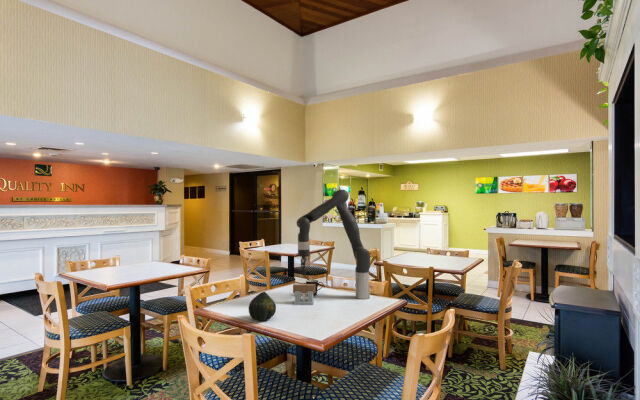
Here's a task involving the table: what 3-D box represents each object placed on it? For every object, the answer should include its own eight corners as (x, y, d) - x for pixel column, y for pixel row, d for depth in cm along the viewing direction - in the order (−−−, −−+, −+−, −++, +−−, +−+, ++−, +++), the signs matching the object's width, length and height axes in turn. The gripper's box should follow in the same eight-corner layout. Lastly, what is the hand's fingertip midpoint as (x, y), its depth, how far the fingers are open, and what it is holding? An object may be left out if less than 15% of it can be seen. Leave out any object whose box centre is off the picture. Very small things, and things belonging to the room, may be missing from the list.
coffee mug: (304, 296, 245) (304, 281, 246) (308, 293, 254) (308, 279, 254) (320, 297, 242) (320, 282, 242) (324, 294, 250) (323, 280, 251)
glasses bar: (315, 291, 230) (315, 284, 230) (314, 293, 226) (314, 285, 227) (293, 291, 230) (293, 284, 230) (293, 293, 227) (292, 285, 227)
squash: (251, 315, 184) (268, 290, 190) (239, 310, 196) (255, 286, 202) (270, 329, 189) (285, 305, 196) (257, 323, 201) (272, 300, 208)
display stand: (314, 300, 233) (314, 288, 233) (313, 304, 223) (313, 292, 223) (295, 300, 233) (295, 288, 234) (294, 304, 223) (294, 292, 224)
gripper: (308, 249, 222) (309, 276, 221) (310, 247, 236) (310, 271, 235) (296, 250, 222) (297, 276, 222) (299, 247, 236) (299, 272, 236)
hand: (304, 273), depth 229 cm, fingers open, 8 cm apart
